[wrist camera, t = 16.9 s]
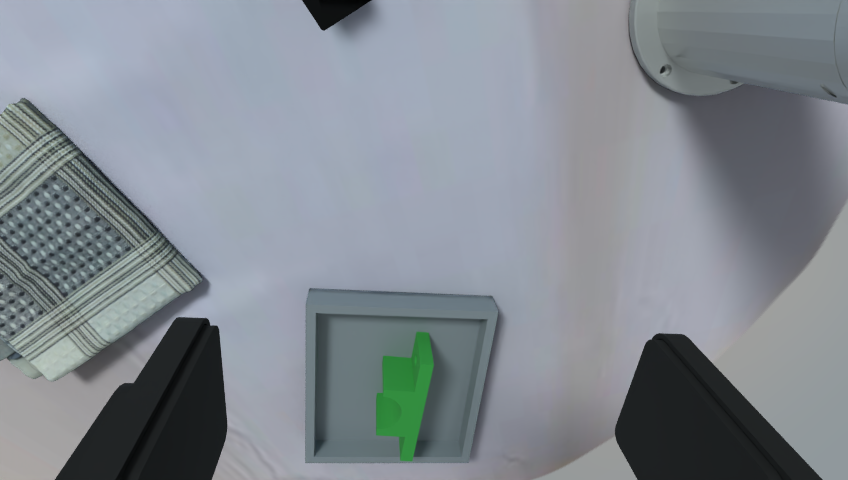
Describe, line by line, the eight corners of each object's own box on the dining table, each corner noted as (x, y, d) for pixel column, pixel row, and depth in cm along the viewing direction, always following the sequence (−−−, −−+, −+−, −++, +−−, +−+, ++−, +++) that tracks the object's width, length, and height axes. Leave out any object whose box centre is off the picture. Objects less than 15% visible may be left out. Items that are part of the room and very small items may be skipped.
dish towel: (29, 87, 34) (-4, 94, 31) (210, 275, 41) (197, 295, 38) (-152, 224, 36) (-197, 242, 34) (48, 376, 44) (25, 402, 41)
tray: (492, 296, 44) (498, 311, 41) (464, 442, 51) (468, 462, 49) (309, 288, 42) (305, 304, 39) (308, 442, 49) (305, 462, 47)
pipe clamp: (387, 328, 44) (389, 361, 40) (428, 331, 44) (434, 364, 40) (371, 422, 48) (371, 460, 44) (409, 424, 49) (412, 462, 45)
